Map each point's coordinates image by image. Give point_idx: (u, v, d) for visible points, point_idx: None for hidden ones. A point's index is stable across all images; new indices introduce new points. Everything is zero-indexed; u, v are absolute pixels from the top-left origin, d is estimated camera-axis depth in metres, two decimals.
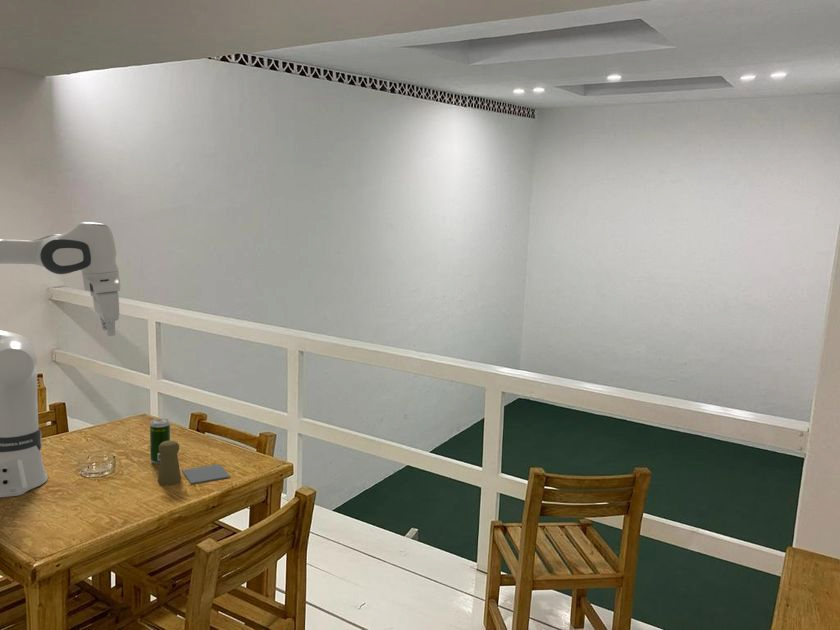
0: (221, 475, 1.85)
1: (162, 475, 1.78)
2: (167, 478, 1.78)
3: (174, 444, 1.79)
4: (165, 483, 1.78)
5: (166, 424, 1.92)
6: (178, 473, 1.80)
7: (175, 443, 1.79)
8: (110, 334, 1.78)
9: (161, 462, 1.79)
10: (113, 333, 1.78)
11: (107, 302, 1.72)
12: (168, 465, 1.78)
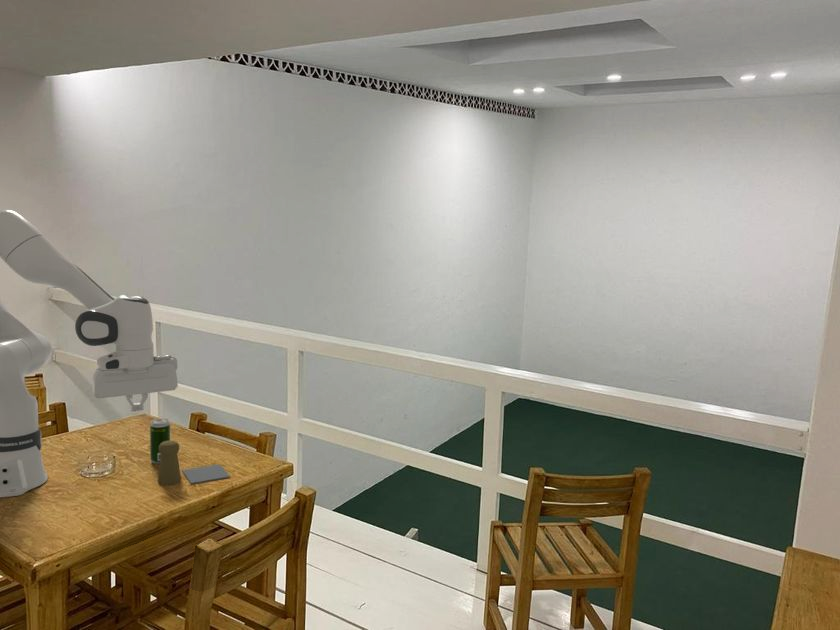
0: (221, 475, 1.85)
1: (162, 475, 1.78)
2: (167, 478, 1.78)
3: (174, 444, 1.79)
4: (165, 483, 1.78)
5: (166, 424, 1.92)
6: (178, 473, 1.80)
7: (175, 443, 1.79)
8: None
9: (161, 462, 1.79)
10: (131, 408, 1.73)
11: (94, 377, 1.68)
12: (168, 465, 1.78)
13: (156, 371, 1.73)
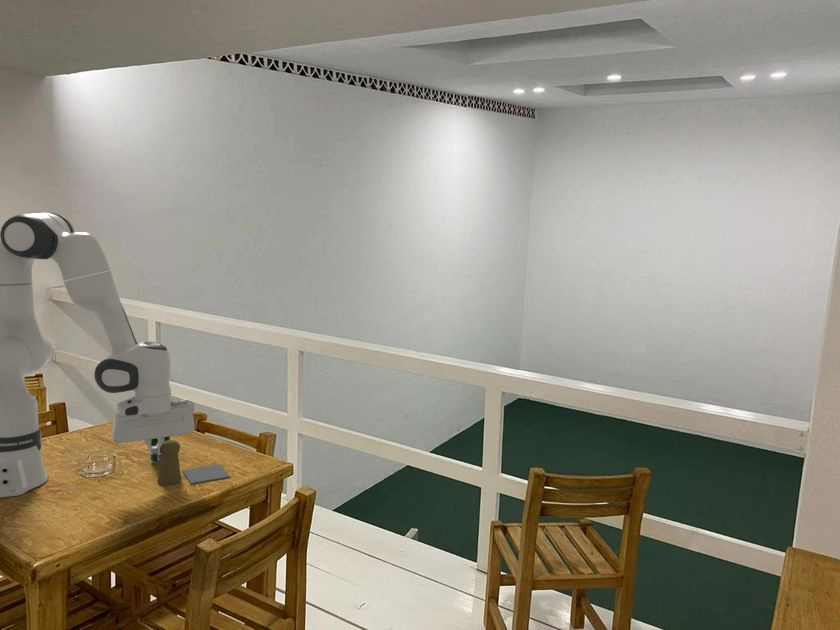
0: (221, 475, 1.85)
1: (162, 474, 1.78)
2: (167, 478, 1.78)
3: (175, 444, 1.79)
4: (165, 483, 1.78)
5: None
6: (178, 473, 1.80)
7: (176, 443, 1.80)
8: (149, 452, 1.77)
9: (162, 462, 1.79)
10: (150, 452, 1.77)
11: (113, 422, 1.72)
12: (169, 465, 1.78)
13: (174, 415, 1.77)
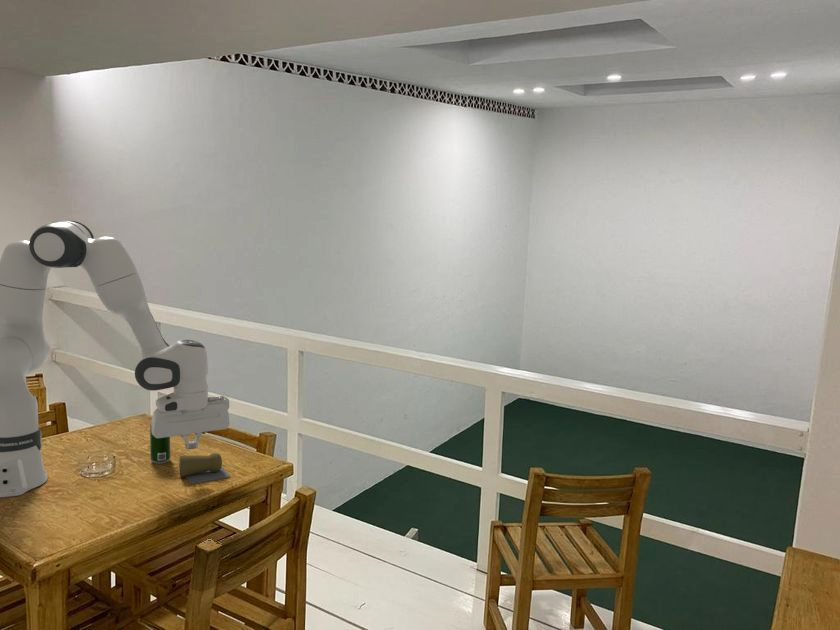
0: (221, 475, 1.85)
1: (190, 456, 1.84)
2: (187, 459, 1.83)
3: (221, 465, 1.87)
4: (182, 459, 1.82)
5: None
6: (190, 471, 1.83)
7: (221, 466, 1.87)
8: (186, 447, 1.82)
9: None
10: (186, 447, 1.82)
11: (153, 418, 1.77)
12: (200, 460, 1.84)
13: (210, 411, 1.83)
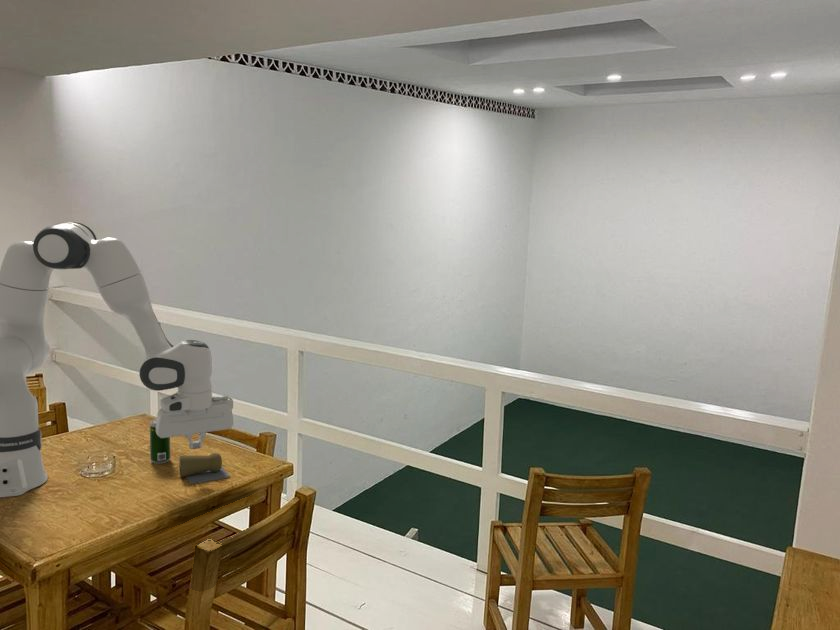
0: (221, 475, 1.85)
1: (190, 456, 1.84)
2: (187, 459, 1.83)
3: (221, 465, 1.87)
4: (182, 459, 1.82)
5: None
6: (190, 471, 1.83)
7: (221, 466, 1.87)
8: (190, 447, 1.83)
9: None
10: (190, 447, 1.82)
11: (157, 418, 1.78)
12: (200, 460, 1.84)
13: (215, 411, 1.83)
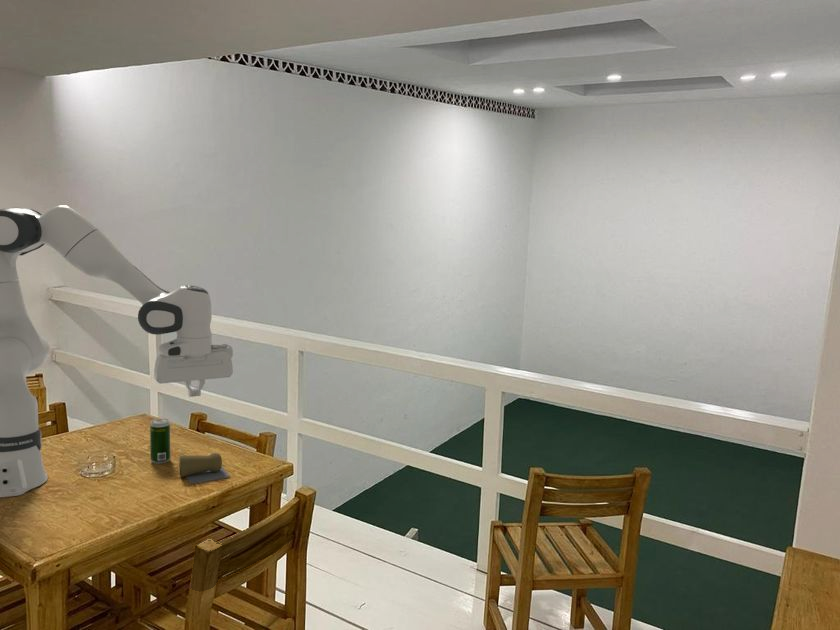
0: (221, 475, 1.85)
1: (190, 456, 1.84)
2: (187, 459, 1.83)
3: (221, 465, 1.87)
4: (182, 459, 1.82)
5: (166, 424, 1.92)
6: (190, 471, 1.83)
7: (221, 466, 1.87)
8: (188, 394, 1.81)
9: None
10: (189, 394, 1.80)
11: (156, 363, 1.75)
12: (200, 460, 1.84)
13: (214, 358, 1.81)
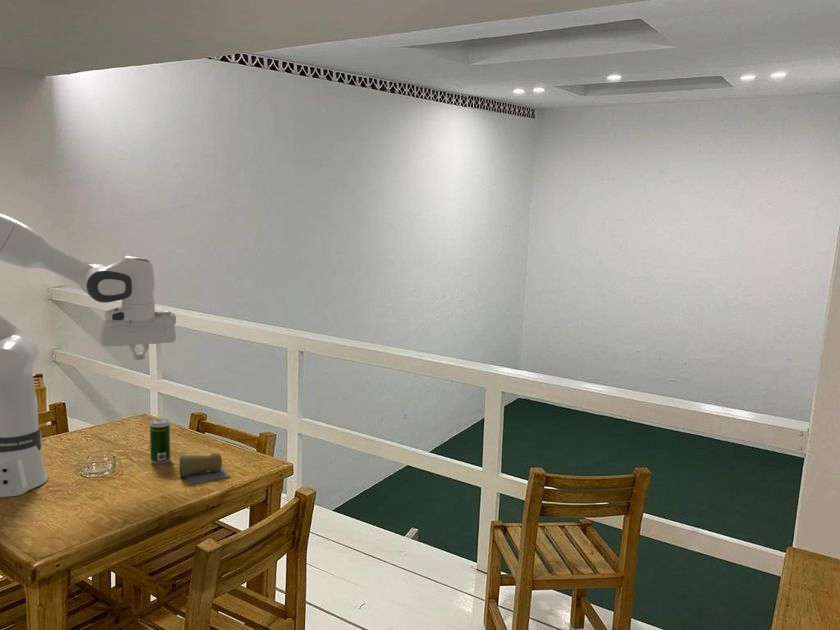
0: (221, 475, 1.85)
1: (190, 456, 1.84)
2: (187, 459, 1.83)
3: (221, 465, 1.87)
4: (182, 459, 1.82)
5: (166, 424, 1.92)
6: (190, 471, 1.83)
7: (221, 466, 1.87)
8: (133, 357, 1.95)
9: None
10: (134, 357, 1.94)
11: (102, 328, 1.89)
12: (200, 460, 1.84)
13: (157, 324, 1.95)
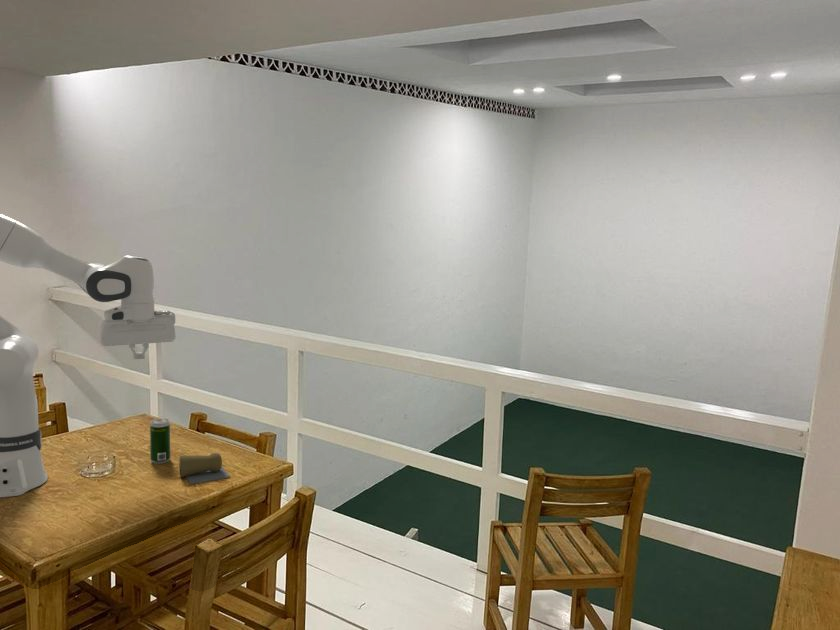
0: (221, 475, 1.85)
1: (190, 456, 1.84)
2: (187, 459, 1.83)
3: (221, 465, 1.87)
4: (182, 459, 1.82)
5: (166, 424, 1.92)
6: (190, 471, 1.83)
7: (221, 466, 1.87)
8: (133, 357, 1.95)
9: None
10: (133, 357, 1.94)
11: (101, 327, 1.89)
12: (200, 460, 1.84)
13: (157, 324, 1.95)
